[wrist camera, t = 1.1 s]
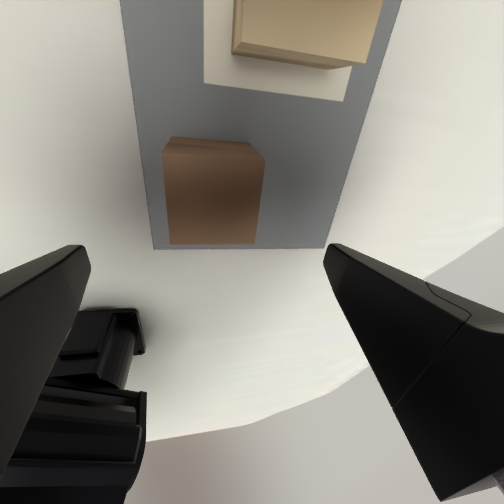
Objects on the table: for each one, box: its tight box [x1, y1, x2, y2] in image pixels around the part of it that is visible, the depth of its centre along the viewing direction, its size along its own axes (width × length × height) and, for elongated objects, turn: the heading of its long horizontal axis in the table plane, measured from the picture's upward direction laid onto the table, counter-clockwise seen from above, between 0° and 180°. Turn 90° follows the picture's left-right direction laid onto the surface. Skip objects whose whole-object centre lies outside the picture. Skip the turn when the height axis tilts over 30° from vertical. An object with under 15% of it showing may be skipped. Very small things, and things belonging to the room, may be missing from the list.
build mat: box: [120, 0, 402, 250], centre depth 15 cm, size 22×15×1 cm
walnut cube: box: [161, 136, 266, 245], centre depth 15 cm, size 5×5×5 cm
